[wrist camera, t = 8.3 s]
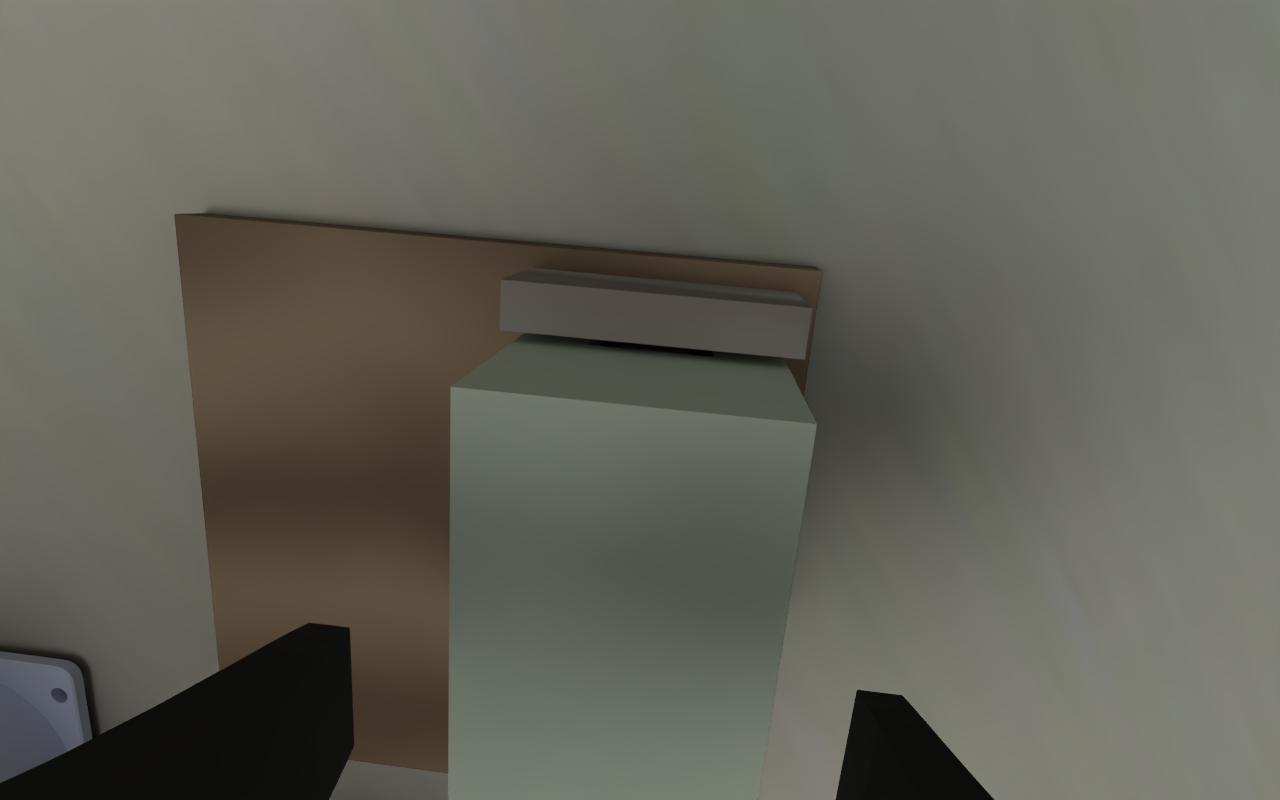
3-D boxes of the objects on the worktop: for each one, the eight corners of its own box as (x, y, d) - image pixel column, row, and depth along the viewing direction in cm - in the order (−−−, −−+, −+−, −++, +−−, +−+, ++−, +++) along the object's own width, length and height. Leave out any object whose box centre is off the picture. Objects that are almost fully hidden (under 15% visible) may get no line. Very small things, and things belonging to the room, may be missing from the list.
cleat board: (739, 785, 21) (746, 897, 17) (247, 719, 22) (164, 814, 18) (815, 267, 17) (843, 284, 13) (203, 213, 18) (84, 215, 14)
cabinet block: (736, 647, 18) (749, 851, 13) (527, 621, 19) (448, 808, 13) (776, 344, 16) (817, 424, 10) (539, 321, 16) (450, 386, 11)
